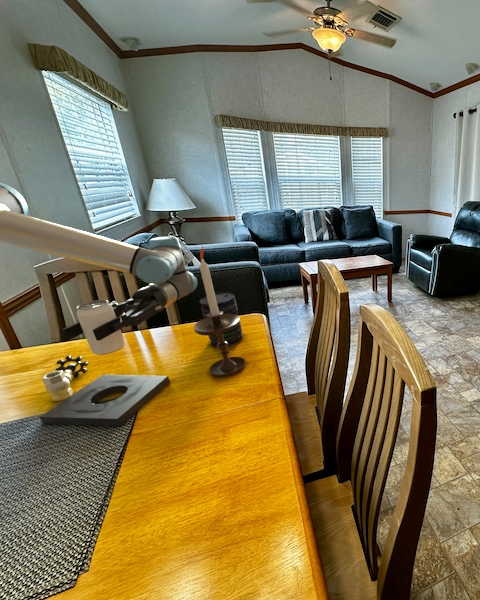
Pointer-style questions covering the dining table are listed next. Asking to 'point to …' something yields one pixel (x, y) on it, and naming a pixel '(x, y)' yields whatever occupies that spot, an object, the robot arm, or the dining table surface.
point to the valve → (63, 378)
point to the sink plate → (108, 414)
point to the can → (94, 317)
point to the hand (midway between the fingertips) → (80, 335)
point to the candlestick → (218, 328)
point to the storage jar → (228, 307)
